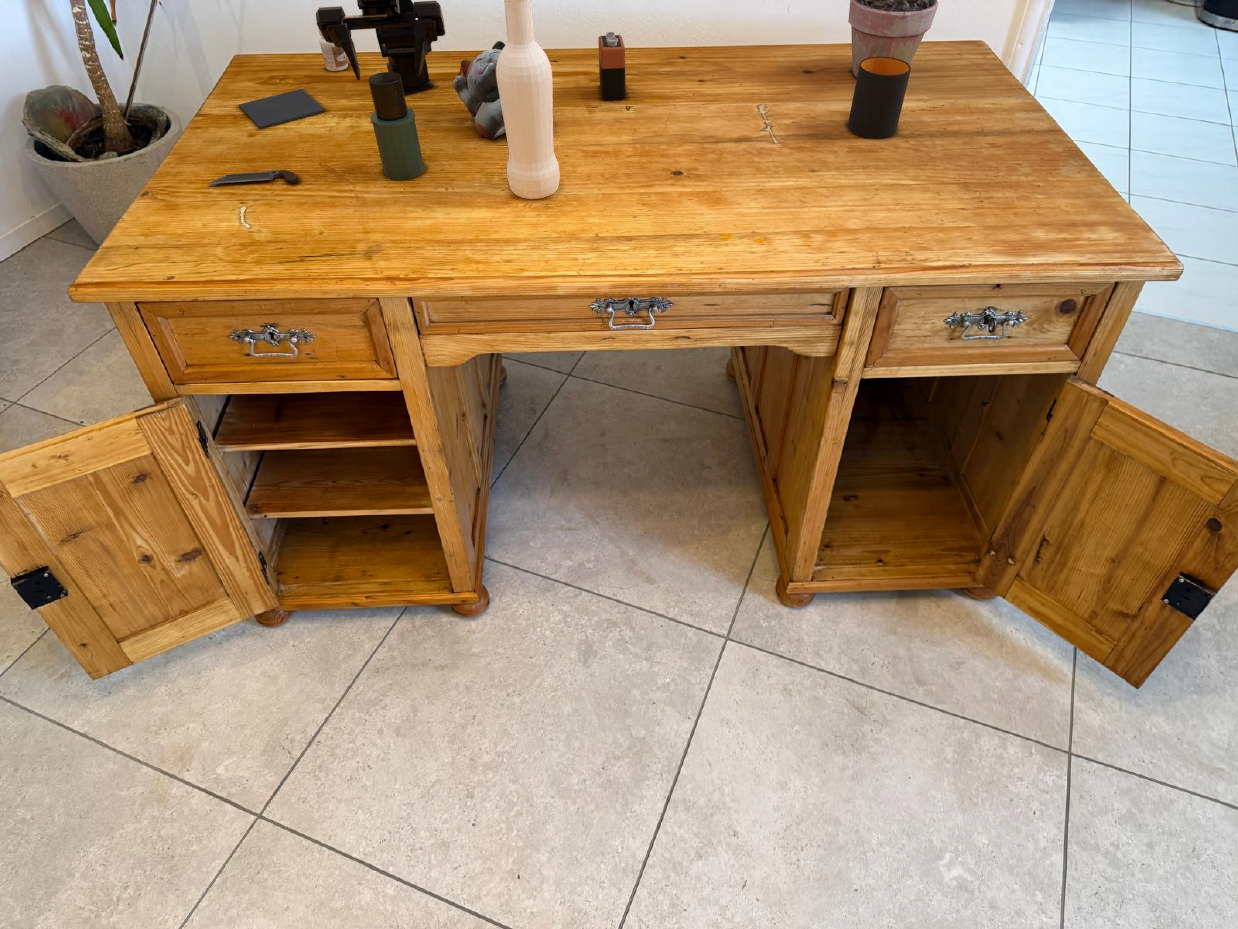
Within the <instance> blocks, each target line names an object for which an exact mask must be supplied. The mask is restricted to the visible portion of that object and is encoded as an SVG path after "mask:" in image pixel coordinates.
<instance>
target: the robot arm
mask: <svg viewBox="0 0 1238 929" xmlns="http://www.w3.org/2000/svg"><path fill="white" fill-rule="evenodd" d="M356 3H357V8H358V10H359V11H361V14H355V15H347V14H346V12H345V10H344V9H343V7H342V5H339V6H322V7H318V9H317V10H316V12H315V19H316V20H315V21H316V26H317V29H318V28H319V29H320V31H321V33H322V35H323V37H324V39H325V41H326V42H328V43H333V44H334V45H335V47H337V48H342V49H343V50H344V52H345V53H346V58H347V60H348V63H349V64H350V66H351V69H352V71H353V73H354V76H355V78H356V80H357V81H361V71H360V65H359V62H358V56H357V51H356V47H355V42H354V40H353V38H352V31H359V30H360V31H361V30H375V34H376V39H377V43H378V46H379V50H380V54H381V57H382V59H385V58H387V60H388V62H386V68H387V72H394V73H397V74H399V75H400V76H401V81H402V86H403V91H404V96H405V95H408V94H413V93H417V92H420V91H424V90H427V89H432V88H434V87H435V84H434V83H433V82H432V81H431V80H430V75H429V70H428V63H427V59H426V58H427V56H428V55H429V53H431V52H433V49H432V43H434V42H435V43H436V42H438V40H439V38H438V37H443V36H445V35H446V27H445V26H446V24H445V18H444V15H443V10H442V5H441V4H440V3H439V2H438V1H437V0H423V1H422V0H421V1H414V2H413V1H412V0H356ZM319 29H318V30H319Z"/></svg>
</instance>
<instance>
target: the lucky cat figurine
mask: <svg viewBox="0 0 1238 929" xmlns="http://www.w3.org/2000/svg"><path fill="white" fill-rule="evenodd" d="M505 45H506V43H504V42H503V41H501V40H498V41H496V42H495V43H494V44H493V46H492V47H491V48H490V49H485V50H484V51H482V52H481V53H480V54H478V55H477V56H476V57H475V58H474V59H467V58H466V59H462V60H460V63H459V64H460V67H459V72H458V74H457V75H455V78H454V79H453V80H452V82H451V83H452V87H453V89H454V91H455V92H456V93H457V95H458V97H459V99H460V101H461V102H462V103H463V104H464V106H465V108H466V109H467V111H468V112H469V113H470V115H471V117H472V118H473V120H474V122H475V124H476V128H477V131H478V133H479V134H480V135H481V136H482V137H485V138H488V139H491V140H495V139H497V138H498V137H499V136H501V135H503V134H506V130H505V124H504V119H503V113H502V107H501V101H500V96H499V90H498V84H497V78H496V65H497V61H498V58H499V55H500V53H501V52H502V50H503V48H504V47H505Z"/></svg>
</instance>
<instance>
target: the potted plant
mask: <svg viewBox="0 0 1238 929" xmlns="http://www.w3.org/2000/svg"><path fill="white" fill-rule="evenodd" d="M938 7H939V1H938V0H849V7H848V8H849V9H848V18H847V19H848V20H847V22H848V23H849V25H850V28H851V66H852V69H851V70H852V74H853V76H854V77H855V78H857V74H858V69H859V64H860V62H861V61H862V60H864V59H867V58H870V57H892V58H897V59H900V60H903V61H905V62H907V63H908V64H909V65H910V66H911V64H912V61H913V60H914V58H915V55H916V53H917V51H918V49H919V47H920V45H921V43H922V41H923V38H924V36H925V33H928V31H930V29H931V27H932V25H933V23H934V19H935V15H936V13H937V10H938Z"/></svg>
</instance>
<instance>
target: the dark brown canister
mask: <svg viewBox="0 0 1238 929" xmlns="http://www.w3.org/2000/svg"><path fill="white" fill-rule="evenodd" d="M367 81H368V85H369V90H370V94H371V97H372V103H373V107H374V111H373V112H371V114H370V116H369V118H370V119H369V120H370V122H371V124H372V125H373V124H374V125H375V126H378V127H383V128H394V127H400V126H403V125H406V124H408V123H410V122H412V121H413V120H414V119H416V114H415V111H414V109H412V108H411V107H408V105H407V101H406V96H405V95H404V91H403V86H402V81H401V76H400V75H399V74H397V73H394V72H388V71H382V72H377V73H374V74H372V75H370V76H369V77H368V79H367Z"/></svg>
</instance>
